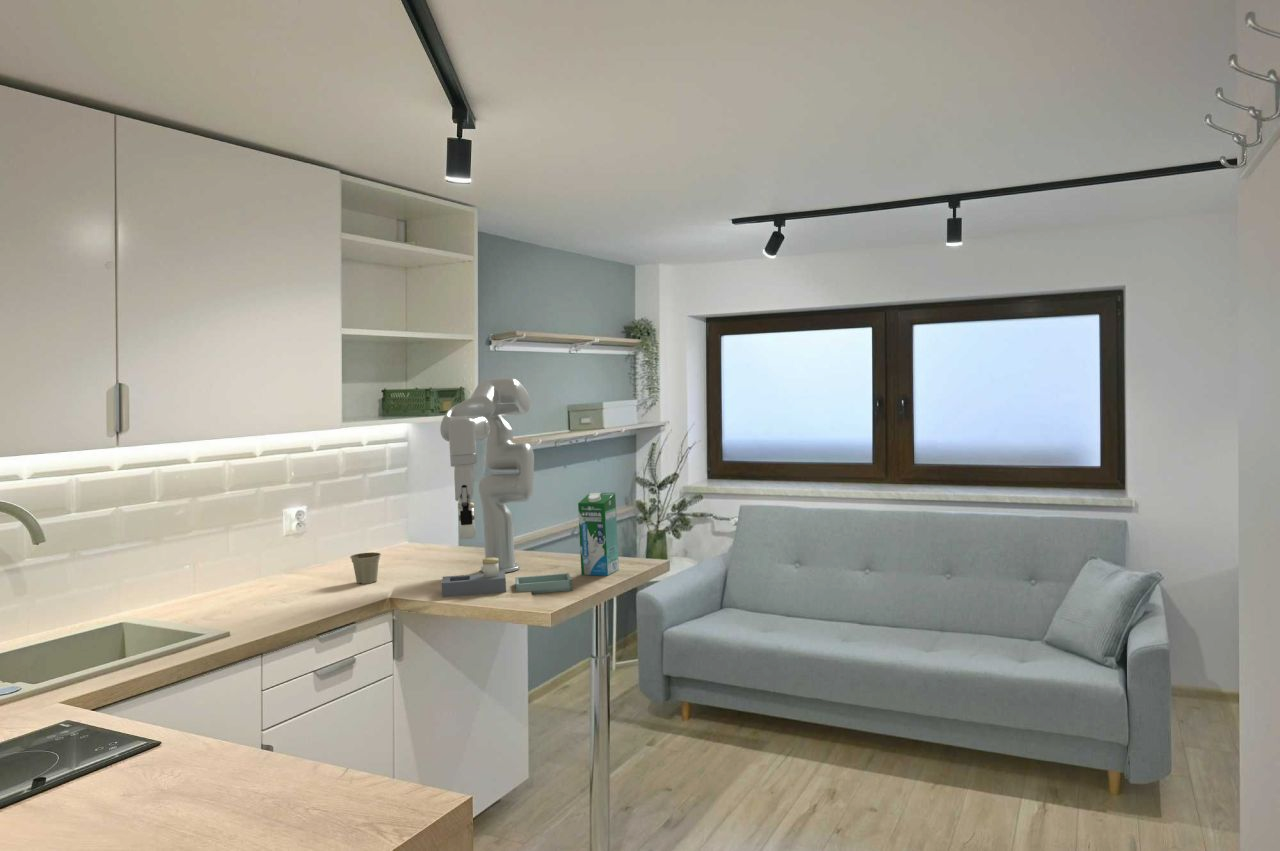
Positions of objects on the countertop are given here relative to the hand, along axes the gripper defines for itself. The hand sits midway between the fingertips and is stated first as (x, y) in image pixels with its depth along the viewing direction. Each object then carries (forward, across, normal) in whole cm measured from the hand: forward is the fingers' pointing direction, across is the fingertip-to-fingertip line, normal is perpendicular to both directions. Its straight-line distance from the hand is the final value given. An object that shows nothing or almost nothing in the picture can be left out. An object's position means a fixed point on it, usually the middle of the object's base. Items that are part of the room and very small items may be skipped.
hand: (467, 522), depth 257 cm
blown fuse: (+4, 0, 0) cm, 4 cm away
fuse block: (+21, 0, +1) cm, 21 cm away
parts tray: (+21, 0, +21) cm, 30 cm away
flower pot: (+22, -29, -34) cm, 49 cm away
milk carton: (+22, -18, +40) cm, 49 cm away
